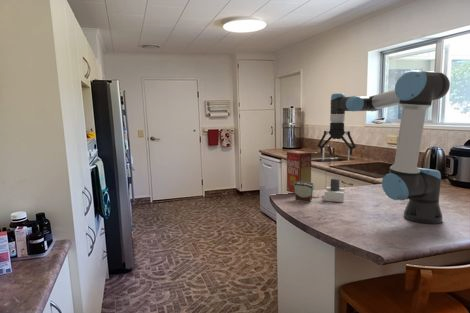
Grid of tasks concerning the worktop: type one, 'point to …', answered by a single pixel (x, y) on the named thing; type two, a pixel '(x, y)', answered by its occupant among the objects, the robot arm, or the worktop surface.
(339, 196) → the socket block
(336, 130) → the robot arm
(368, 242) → the worktop surface
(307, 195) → the food container
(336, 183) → the dark gray rounded peg
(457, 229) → the worktop surface
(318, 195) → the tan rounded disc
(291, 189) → the food packaging
